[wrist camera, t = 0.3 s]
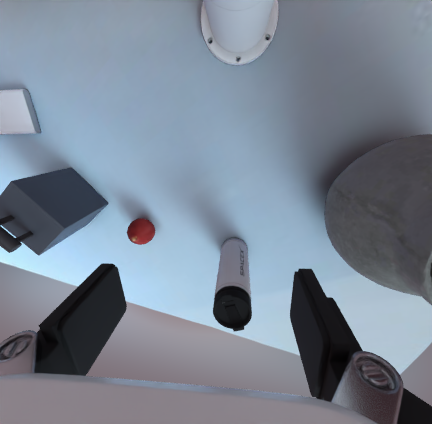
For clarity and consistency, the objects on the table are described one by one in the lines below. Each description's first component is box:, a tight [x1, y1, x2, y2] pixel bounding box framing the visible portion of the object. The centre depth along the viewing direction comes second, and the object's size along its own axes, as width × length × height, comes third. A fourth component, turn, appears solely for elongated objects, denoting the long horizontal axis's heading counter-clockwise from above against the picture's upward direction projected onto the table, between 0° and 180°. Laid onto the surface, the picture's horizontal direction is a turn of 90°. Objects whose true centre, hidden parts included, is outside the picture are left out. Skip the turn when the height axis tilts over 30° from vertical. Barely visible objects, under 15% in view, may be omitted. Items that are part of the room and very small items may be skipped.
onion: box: [127, 218, 155, 245], centre depth 48 cm, size 6×6×8 cm
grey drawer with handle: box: [0, 168, 108, 255], centre depth 42 cm, size 19×11×9 cm
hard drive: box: [0, 89, 41, 134], centre depth 45 cm, size 2×8×12 cm
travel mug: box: [213, 238, 252, 331], centre depth 43 cm, size 6×7×20 cm
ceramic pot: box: [324, 134, 432, 305], centre depth 33 cm, size 24×24×25 cm
